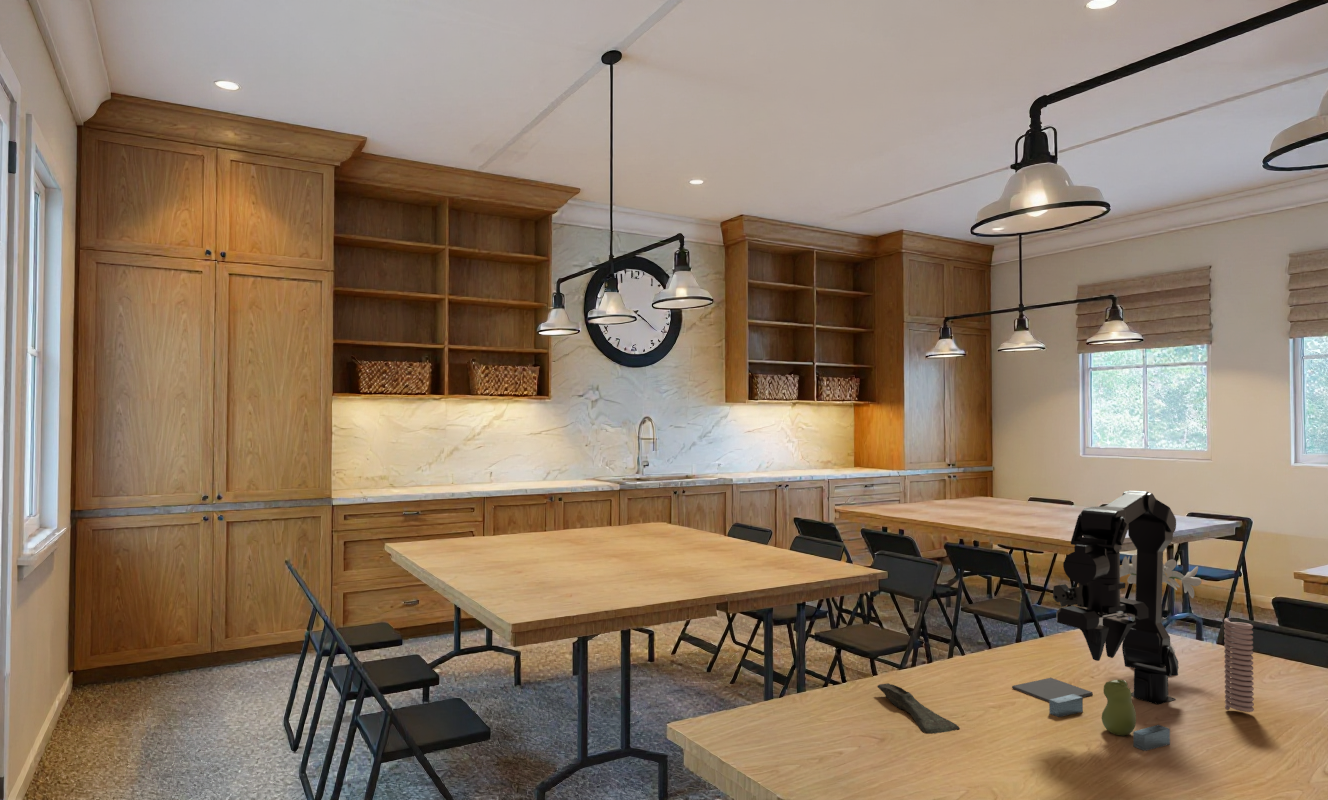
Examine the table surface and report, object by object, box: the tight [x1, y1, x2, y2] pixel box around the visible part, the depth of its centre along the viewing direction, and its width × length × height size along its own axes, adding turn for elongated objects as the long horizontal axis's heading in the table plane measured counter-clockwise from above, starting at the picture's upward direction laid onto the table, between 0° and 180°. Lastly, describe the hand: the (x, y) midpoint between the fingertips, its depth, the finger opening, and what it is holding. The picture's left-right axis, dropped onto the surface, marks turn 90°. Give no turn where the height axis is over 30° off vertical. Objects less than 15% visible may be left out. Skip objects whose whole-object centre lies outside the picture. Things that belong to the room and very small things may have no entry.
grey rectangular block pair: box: [1048, 694, 1171, 752], centre depth 147 cm, size 7×19×3 cm, turn 25°
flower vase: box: [1120, 554, 1202, 654], centre depth 186 cm, size 13×18×25 cm
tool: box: [876, 683, 960, 735], centre depth 154 cm, size 21×8×3 cm, turn 18°
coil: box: [1223, 617, 1255, 713], centre depth 156 cm, size 5×5×18 cm
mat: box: [1011, 677, 1094, 703], centre depth 167 cm, size 12×10×1 cm
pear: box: [1101, 679, 1137, 737], centre depth 145 cm, size 6×5×10 cm
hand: (1103, 658), depth 148 cm, fingers open, 4 cm apart
